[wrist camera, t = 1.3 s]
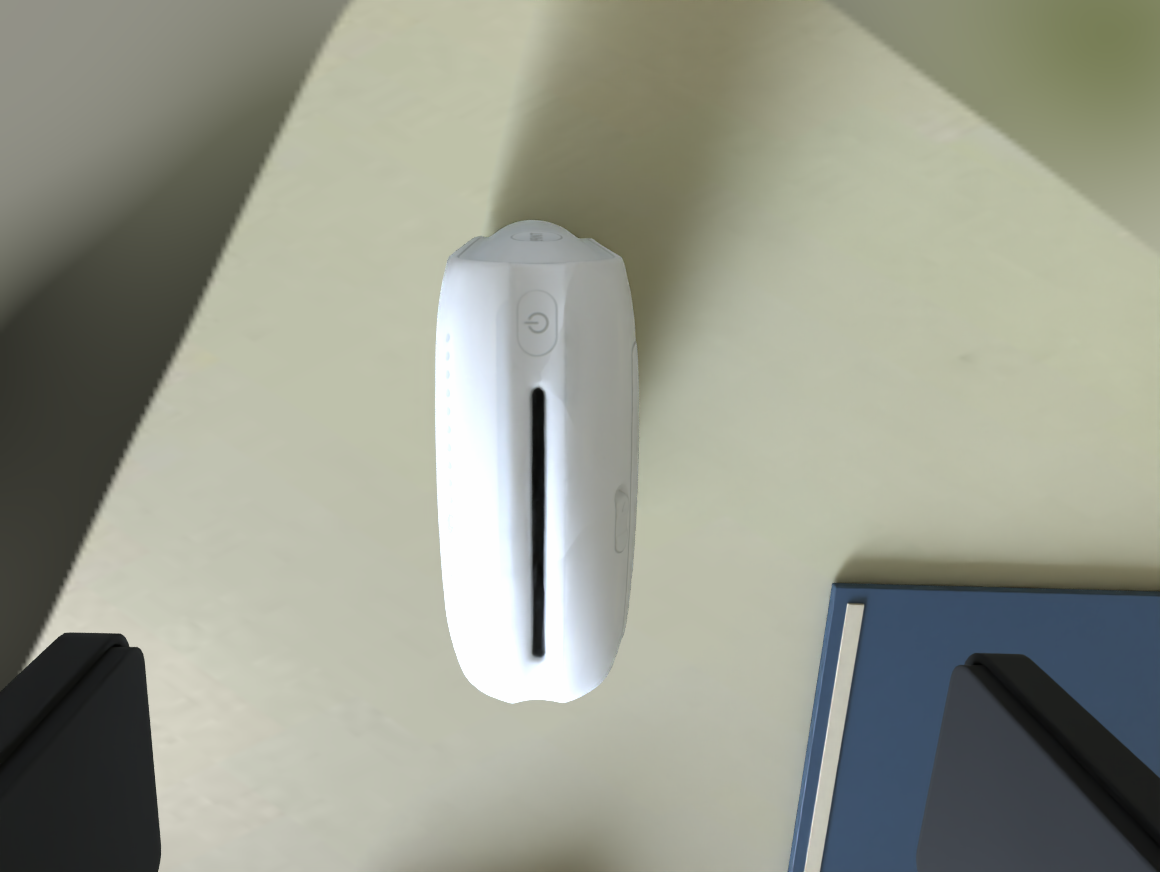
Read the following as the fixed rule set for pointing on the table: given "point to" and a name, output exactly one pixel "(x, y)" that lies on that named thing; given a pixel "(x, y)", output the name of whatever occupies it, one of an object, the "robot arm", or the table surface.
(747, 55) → the table surface
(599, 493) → the photo printer
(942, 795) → the robot arm
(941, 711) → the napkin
